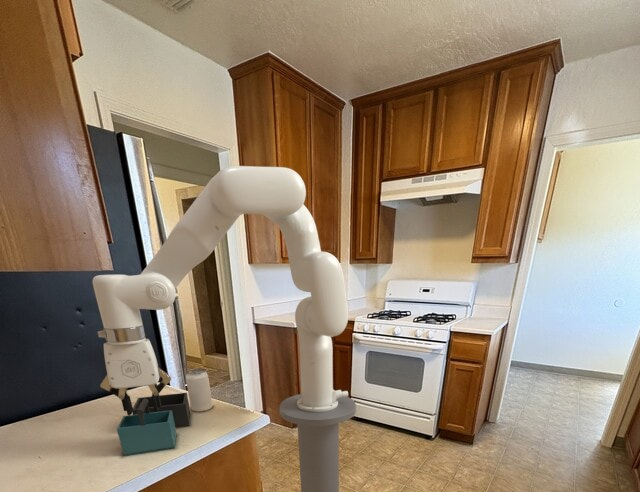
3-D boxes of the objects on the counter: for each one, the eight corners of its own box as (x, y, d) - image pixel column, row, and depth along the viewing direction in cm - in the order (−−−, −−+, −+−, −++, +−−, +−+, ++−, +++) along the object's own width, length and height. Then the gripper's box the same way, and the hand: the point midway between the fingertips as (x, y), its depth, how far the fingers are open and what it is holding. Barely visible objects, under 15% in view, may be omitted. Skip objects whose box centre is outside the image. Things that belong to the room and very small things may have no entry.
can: (198, 413, 106) (191, 375, 102) (187, 408, 110) (180, 371, 106) (216, 407, 111) (211, 370, 106) (206, 403, 115) (200, 367, 110)
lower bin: (190, 413, 107) (186, 392, 104) (189, 426, 98) (185, 403, 96) (143, 418, 103) (138, 397, 101) (137, 433, 95) (131, 410, 92)
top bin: (176, 434, 93) (168, 395, 89) (174, 448, 86) (165, 406, 82) (130, 441, 90) (119, 401, 86) (123, 455, 83) (112, 413, 79)
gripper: (75, 341, 72) (99, 422, 79) (166, 335, 76) (181, 412, 84) (86, 335, 78) (107, 410, 85) (169, 329, 83) (182, 402, 90)
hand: (143, 410), depth 84 cm, fingers open, 5 cm apart
